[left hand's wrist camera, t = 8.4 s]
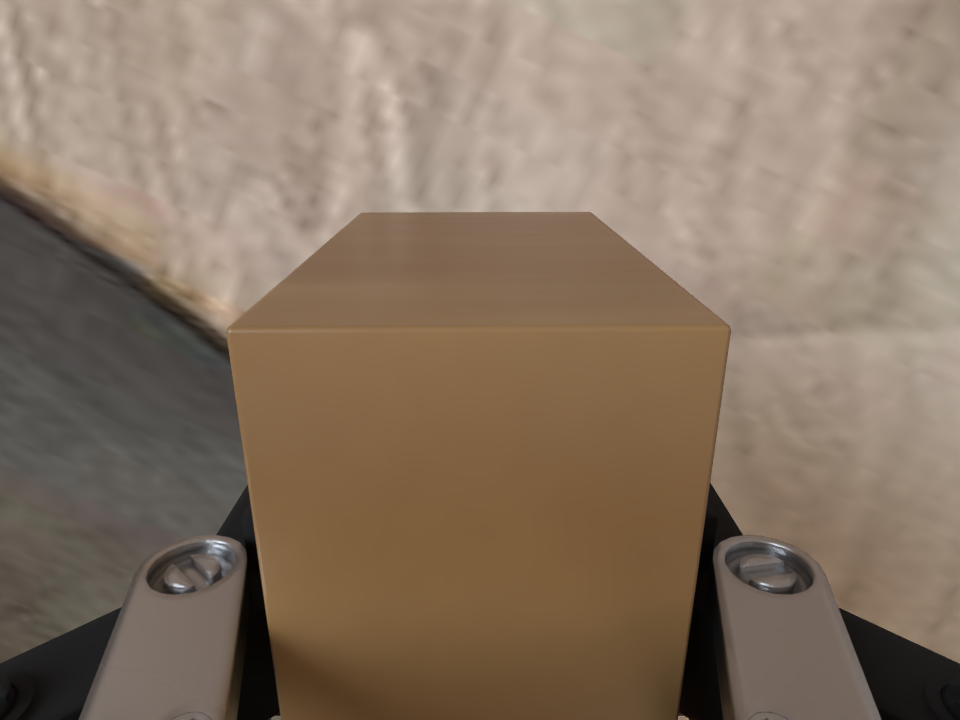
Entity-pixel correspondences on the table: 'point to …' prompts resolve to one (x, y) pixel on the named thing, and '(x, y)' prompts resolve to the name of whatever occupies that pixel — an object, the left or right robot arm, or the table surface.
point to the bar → (478, 469)
